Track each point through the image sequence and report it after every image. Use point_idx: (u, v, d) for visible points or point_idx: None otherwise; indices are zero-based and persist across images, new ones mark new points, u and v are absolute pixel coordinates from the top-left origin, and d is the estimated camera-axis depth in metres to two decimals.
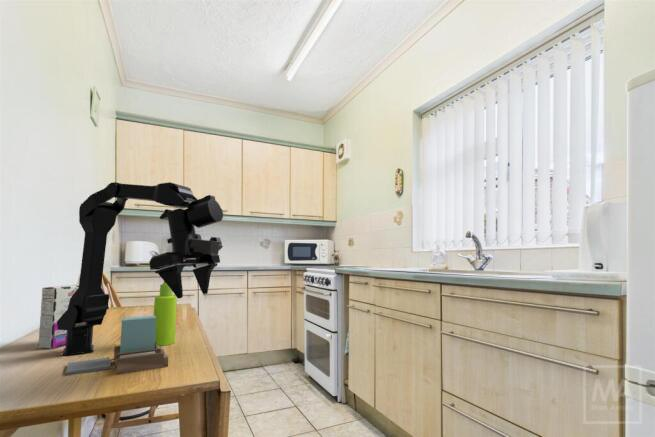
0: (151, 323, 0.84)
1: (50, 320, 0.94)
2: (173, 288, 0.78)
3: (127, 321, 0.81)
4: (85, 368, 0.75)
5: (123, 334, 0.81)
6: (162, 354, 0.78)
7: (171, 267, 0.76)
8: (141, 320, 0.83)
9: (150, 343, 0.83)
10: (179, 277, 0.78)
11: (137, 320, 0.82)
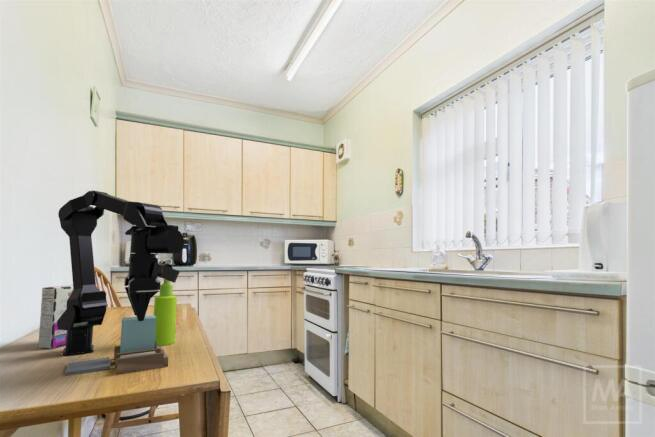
0: (151, 323, 0.84)
1: (50, 320, 0.94)
2: (138, 310, 0.80)
3: (127, 321, 0.81)
4: (85, 368, 0.75)
5: (123, 334, 0.81)
6: (162, 354, 0.78)
7: (153, 292, 0.80)
8: None
9: (150, 343, 0.83)
10: None
11: (137, 320, 0.82)
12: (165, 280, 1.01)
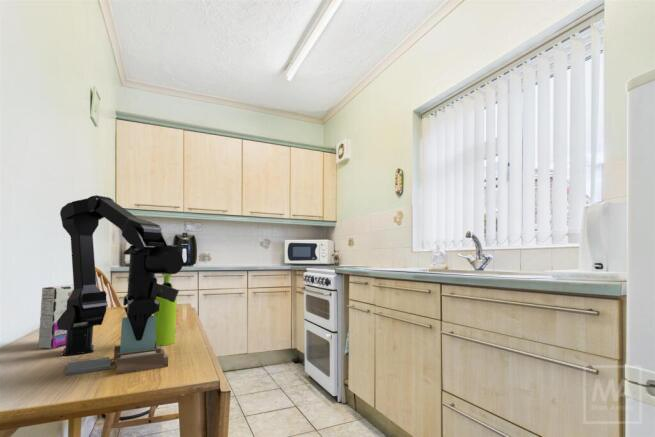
0: (151, 323, 0.84)
1: (50, 320, 0.94)
2: (136, 330, 0.81)
3: (127, 321, 0.81)
4: (85, 368, 0.75)
5: (123, 334, 0.81)
6: (162, 354, 0.78)
7: (150, 312, 0.81)
8: None
9: (150, 343, 0.83)
10: (146, 321, 0.83)
11: None
12: (165, 280, 1.01)
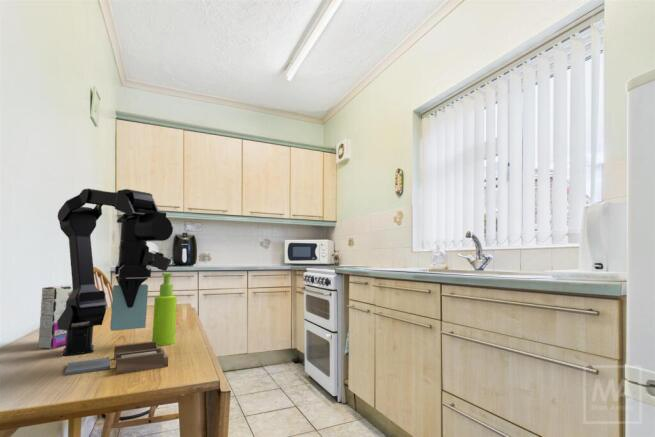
0: (143, 291, 0.84)
1: (50, 320, 0.94)
2: (127, 297, 0.81)
3: (118, 287, 0.81)
4: (85, 368, 0.75)
5: (114, 300, 0.80)
6: (162, 354, 0.78)
7: (142, 279, 0.81)
8: None
9: (141, 311, 0.83)
10: None
11: None
12: (165, 280, 1.01)
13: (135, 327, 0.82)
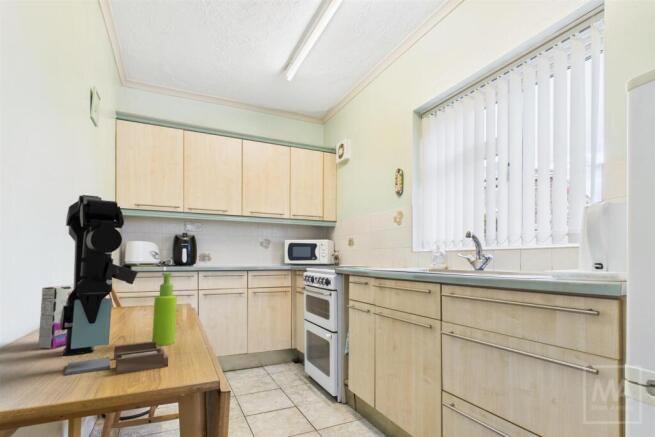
0: (106, 306, 0.79)
1: (50, 320, 0.94)
2: (89, 312, 0.77)
3: (79, 302, 0.77)
4: (85, 368, 0.75)
5: (74, 316, 0.76)
6: (162, 354, 0.78)
7: (104, 293, 0.76)
8: None
9: (104, 327, 0.79)
10: (100, 303, 0.78)
11: None
12: (165, 280, 1.01)
13: (97, 344, 0.78)
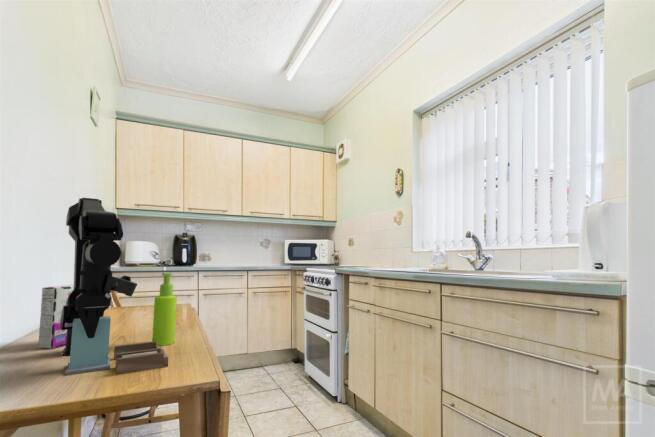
0: (105, 325, 0.79)
1: (50, 320, 0.94)
2: (88, 327, 0.75)
3: (77, 322, 0.76)
4: (85, 368, 0.75)
5: (73, 336, 0.76)
6: (162, 354, 0.78)
7: (103, 308, 0.75)
8: None
9: (103, 346, 0.78)
10: (99, 317, 0.77)
11: None
12: (165, 280, 1.01)
13: (96, 364, 0.77)
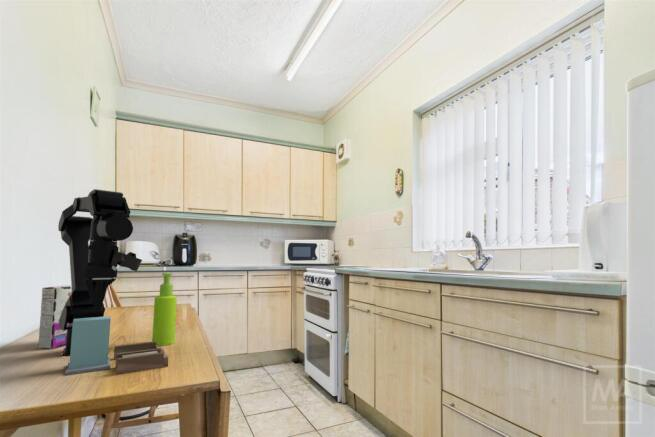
0: (105, 325, 0.79)
1: (50, 320, 0.94)
2: (95, 298, 0.79)
3: (77, 322, 0.76)
4: (85, 368, 0.75)
5: (73, 336, 0.76)
6: (162, 354, 0.78)
7: (109, 280, 0.78)
8: (93, 321, 0.78)
9: (103, 346, 0.78)
10: (106, 289, 0.80)
11: (89, 321, 0.77)
12: (165, 280, 1.01)
13: (96, 364, 0.77)
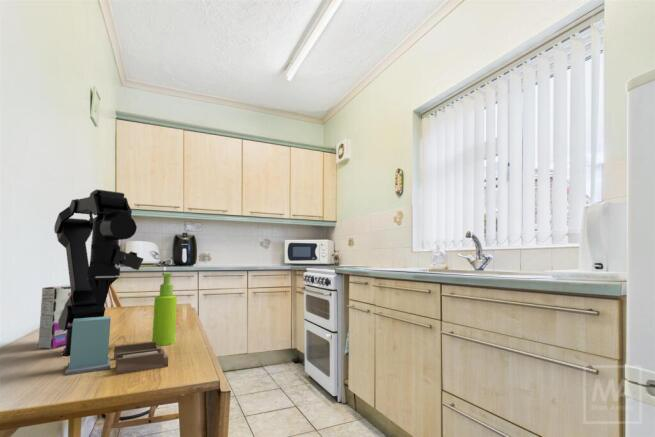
0: (105, 325, 0.79)
1: (50, 320, 0.94)
2: (98, 296, 0.80)
3: (77, 322, 0.76)
4: (85, 368, 0.75)
5: (73, 336, 0.76)
6: (162, 354, 0.78)
7: (112, 278, 0.80)
8: (93, 321, 0.78)
9: (103, 346, 0.78)
10: (109, 287, 0.81)
11: (89, 321, 0.77)
12: (165, 280, 1.01)
13: (96, 364, 0.77)
